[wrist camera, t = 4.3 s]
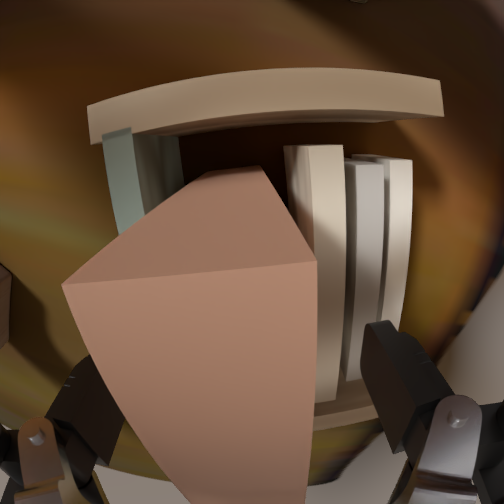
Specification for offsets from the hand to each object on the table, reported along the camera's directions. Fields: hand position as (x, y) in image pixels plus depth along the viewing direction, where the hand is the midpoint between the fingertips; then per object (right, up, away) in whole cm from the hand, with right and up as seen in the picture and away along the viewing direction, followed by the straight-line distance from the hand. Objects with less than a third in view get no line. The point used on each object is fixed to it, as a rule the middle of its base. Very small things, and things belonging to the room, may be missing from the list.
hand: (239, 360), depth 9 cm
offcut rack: (+2, +4, +9) cm, 10 cm away
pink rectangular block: (0, +3, +9) cm, 10 cm away
